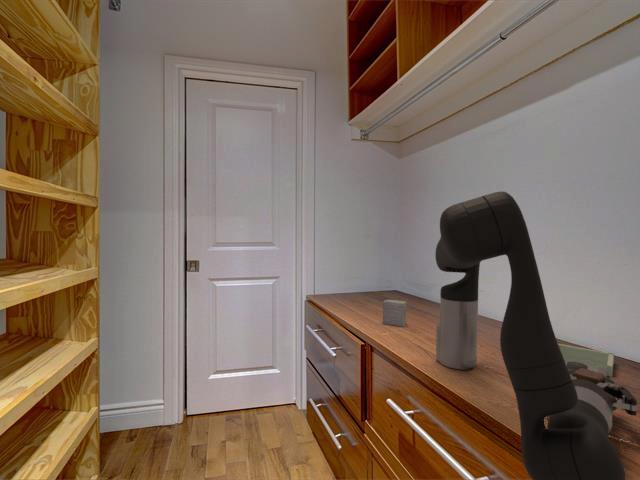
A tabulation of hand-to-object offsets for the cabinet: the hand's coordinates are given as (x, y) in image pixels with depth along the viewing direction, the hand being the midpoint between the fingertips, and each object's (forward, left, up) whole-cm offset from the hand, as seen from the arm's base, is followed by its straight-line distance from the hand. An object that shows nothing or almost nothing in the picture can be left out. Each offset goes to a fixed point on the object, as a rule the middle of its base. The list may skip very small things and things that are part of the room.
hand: (589, 378), depth 70 cm
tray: (-11, +26, -6) cm, 29 cm away
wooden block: (+1, -3, -6) cm, 7 cm away
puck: (-7, +15, -6) cm, 17 cm away
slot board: (-8, +15, -6) cm, 18 cm away
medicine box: (-66, +14, -6) cm, 68 cm away
